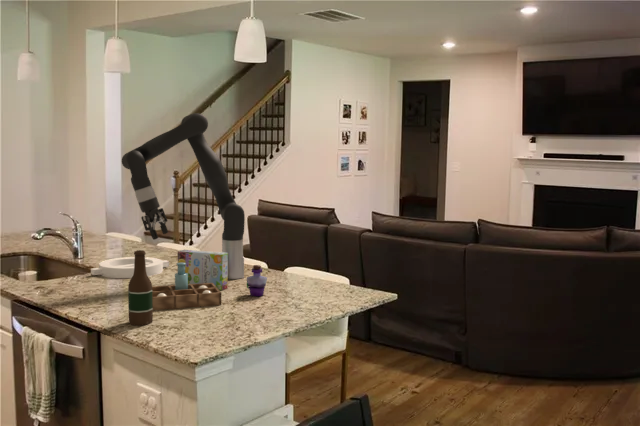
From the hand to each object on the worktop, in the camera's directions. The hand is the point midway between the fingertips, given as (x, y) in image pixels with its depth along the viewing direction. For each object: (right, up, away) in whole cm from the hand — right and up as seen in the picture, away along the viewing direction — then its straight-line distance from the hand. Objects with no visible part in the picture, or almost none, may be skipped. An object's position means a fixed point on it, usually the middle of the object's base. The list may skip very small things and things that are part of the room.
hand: (160, 236), depth 245 cm
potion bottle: (+40, -23, -8) cm, 47 cm away
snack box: (+16, -22, +5) cm, 27 cm away
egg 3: (+23, -23, -21) cm, 39 cm away
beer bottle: (+6, -27, -47) cm, 55 cm away
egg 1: (+7, -24, -27) cm, 36 cm away
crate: (+14, -24, -20) cm, 34 cm away
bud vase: (+12, -23, -16) cm, 30 cm away
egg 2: (+20, -23, -13) cm, 33 cm away
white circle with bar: (-22, -18, +33) cm, 43 cm away
